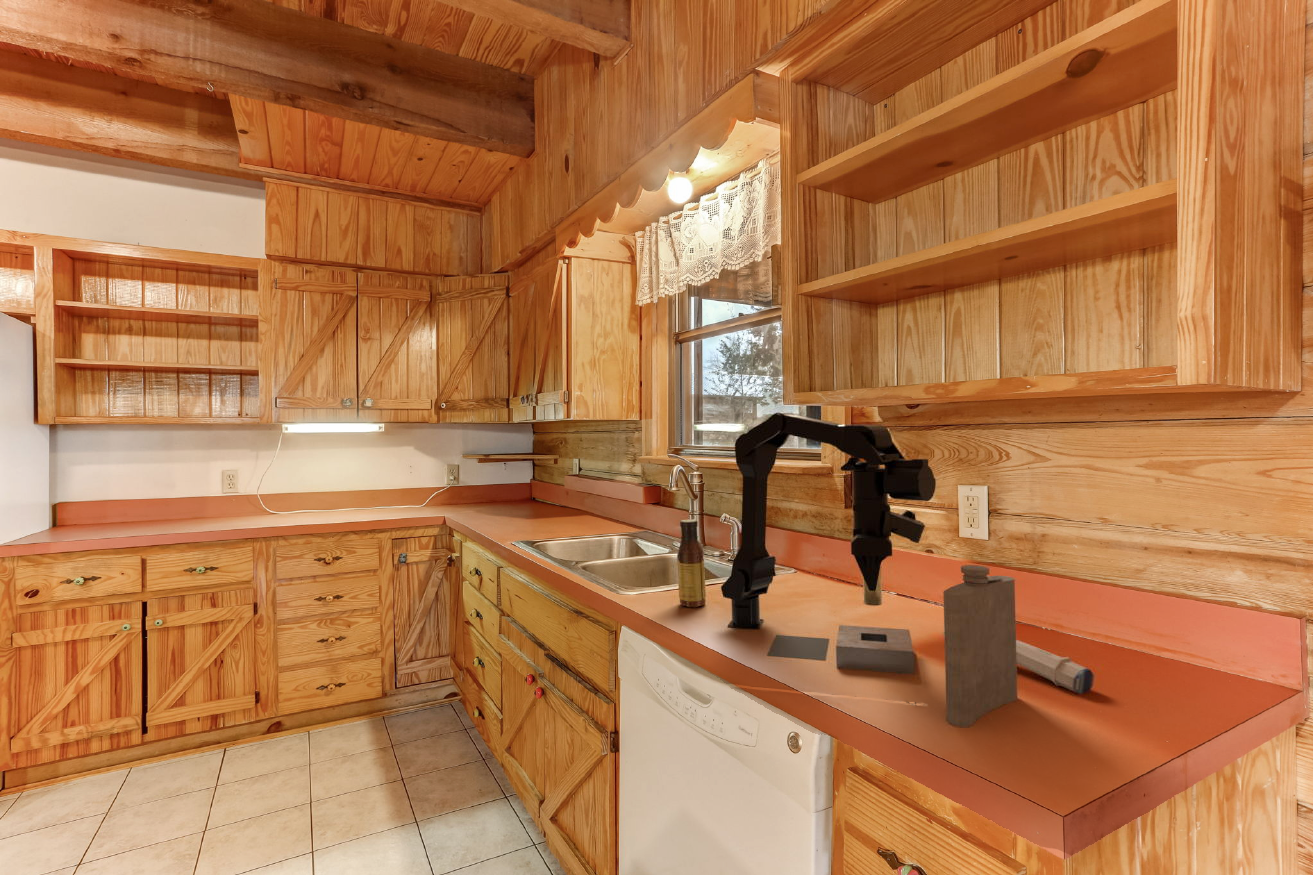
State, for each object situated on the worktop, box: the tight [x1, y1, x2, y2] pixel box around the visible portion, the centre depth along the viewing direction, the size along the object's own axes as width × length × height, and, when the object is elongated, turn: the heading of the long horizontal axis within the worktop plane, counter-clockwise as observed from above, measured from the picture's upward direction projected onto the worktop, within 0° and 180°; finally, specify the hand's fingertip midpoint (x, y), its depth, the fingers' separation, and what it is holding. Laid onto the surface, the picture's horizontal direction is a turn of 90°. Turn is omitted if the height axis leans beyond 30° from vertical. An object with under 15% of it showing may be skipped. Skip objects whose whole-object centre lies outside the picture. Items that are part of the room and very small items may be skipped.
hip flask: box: [943, 564, 1018, 728], centre depth 90 cm, size 16×4×20 cm, turn 126°
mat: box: [766, 634, 830, 661], centre depth 117 cm, size 12×10×1 cm
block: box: [835, 624, 915, 675], centre depth 110 cm, size 12×12×4 cm
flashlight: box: [942, 629, 1095, 695], centre depth 106 cm, size 5×7×25 cm
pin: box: [862, 565, 883, 607], centre depth 110 cm, size 3×3×9 cm
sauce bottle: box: [676, 518, 707, 608], centre depth 149 cm, size 6×6×20 cm
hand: (872, 588), depth 110 cm, fingers closed on pin, 3 cm apart
